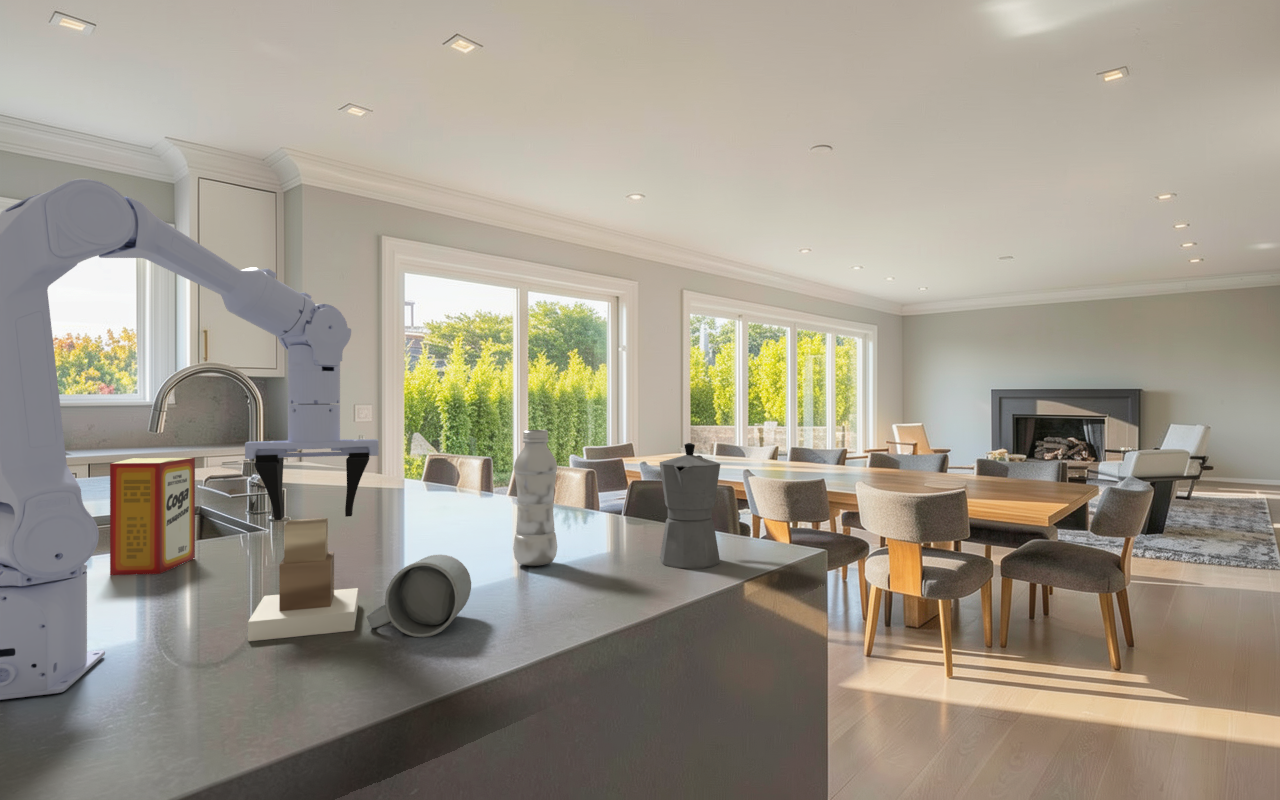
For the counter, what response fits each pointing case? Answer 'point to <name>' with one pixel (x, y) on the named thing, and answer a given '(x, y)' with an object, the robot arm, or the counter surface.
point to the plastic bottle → (535, 501)
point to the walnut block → (306, 584)
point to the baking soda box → (151, 514)
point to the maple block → (306, 540)
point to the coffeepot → (689, 511)
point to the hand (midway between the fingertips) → (314, 517)
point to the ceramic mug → (424, 596)
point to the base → (303, 618)
